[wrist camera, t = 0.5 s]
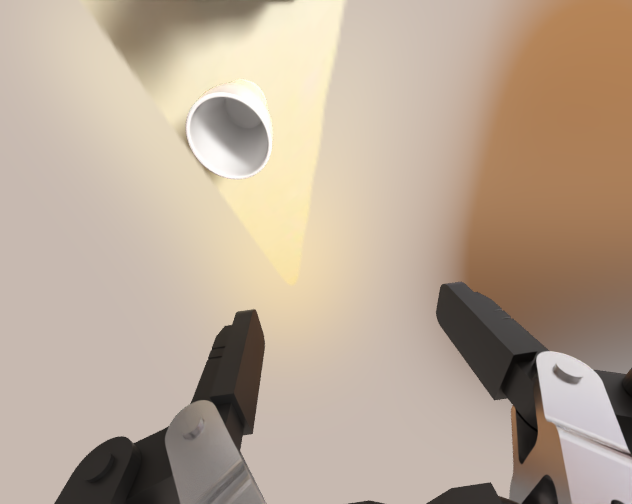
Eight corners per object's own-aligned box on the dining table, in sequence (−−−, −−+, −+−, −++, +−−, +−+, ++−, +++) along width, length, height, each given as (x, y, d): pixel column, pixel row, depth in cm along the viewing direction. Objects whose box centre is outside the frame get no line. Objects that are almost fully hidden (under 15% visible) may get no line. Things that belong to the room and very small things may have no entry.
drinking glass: (229, 136, 32) (206, 186, 21) (208, 75, 28) (165, 99, 17) (278, 128, 33) (280, 174, 21) (265, 66, 28) (260, 84, 17)
